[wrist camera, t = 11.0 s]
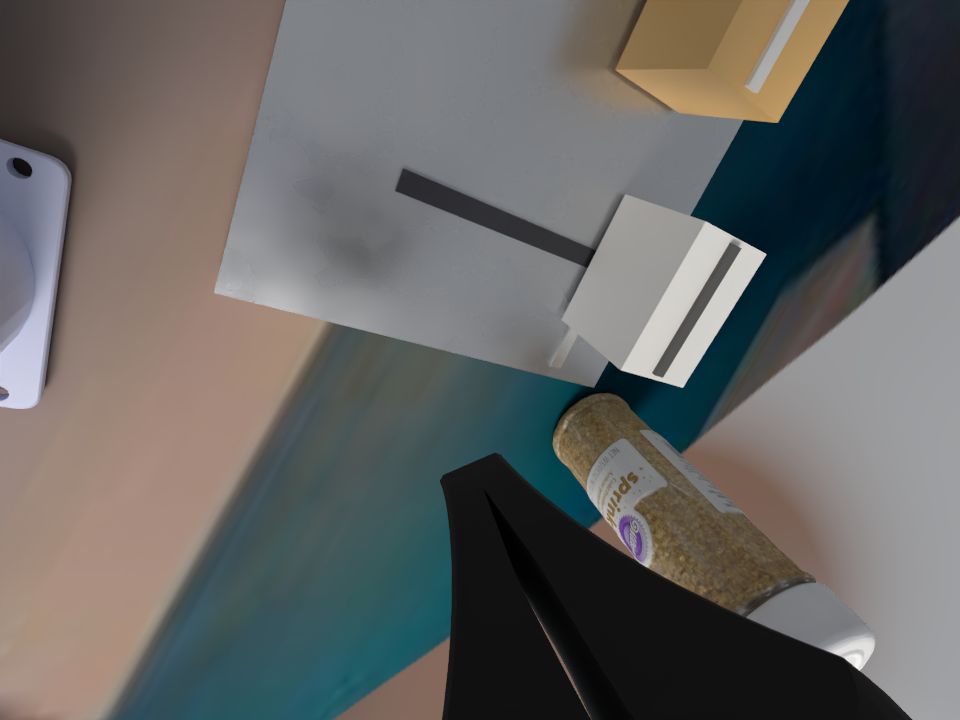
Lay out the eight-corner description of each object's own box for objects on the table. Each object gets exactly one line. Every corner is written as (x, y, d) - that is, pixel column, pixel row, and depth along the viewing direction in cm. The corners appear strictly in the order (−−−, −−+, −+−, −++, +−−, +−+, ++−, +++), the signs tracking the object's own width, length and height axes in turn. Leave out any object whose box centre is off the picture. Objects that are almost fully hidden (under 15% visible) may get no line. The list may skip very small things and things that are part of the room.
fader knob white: (561, 319, 19) (623, 372, 16) (625, 194, 18) (709, 222, 14) (617, 338, 21) (685, 390, 17) (681, 223, 19) (770, 255, 16)
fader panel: (219, 271, 16) (214, 294, 15) (414, -517, 10) (442, -634, 9) (571, 365, 23) (595, 389, 22) (804, -71, 18) (862, -87, 16)
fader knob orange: (615, 69, 15) (711, 68, 12) (702, -121, 14) (843, -184, 10) (679, 113, 17) (782, 123, 13) (766, -55, 15) (908, -91, 12)
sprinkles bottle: (542, 412, 24) (765, 692, 13) (623, 375, 25) (898, 612, 14) (557, 475, 27) (755, 753, 16) (631, 439, 28) (869, 682, 17)
